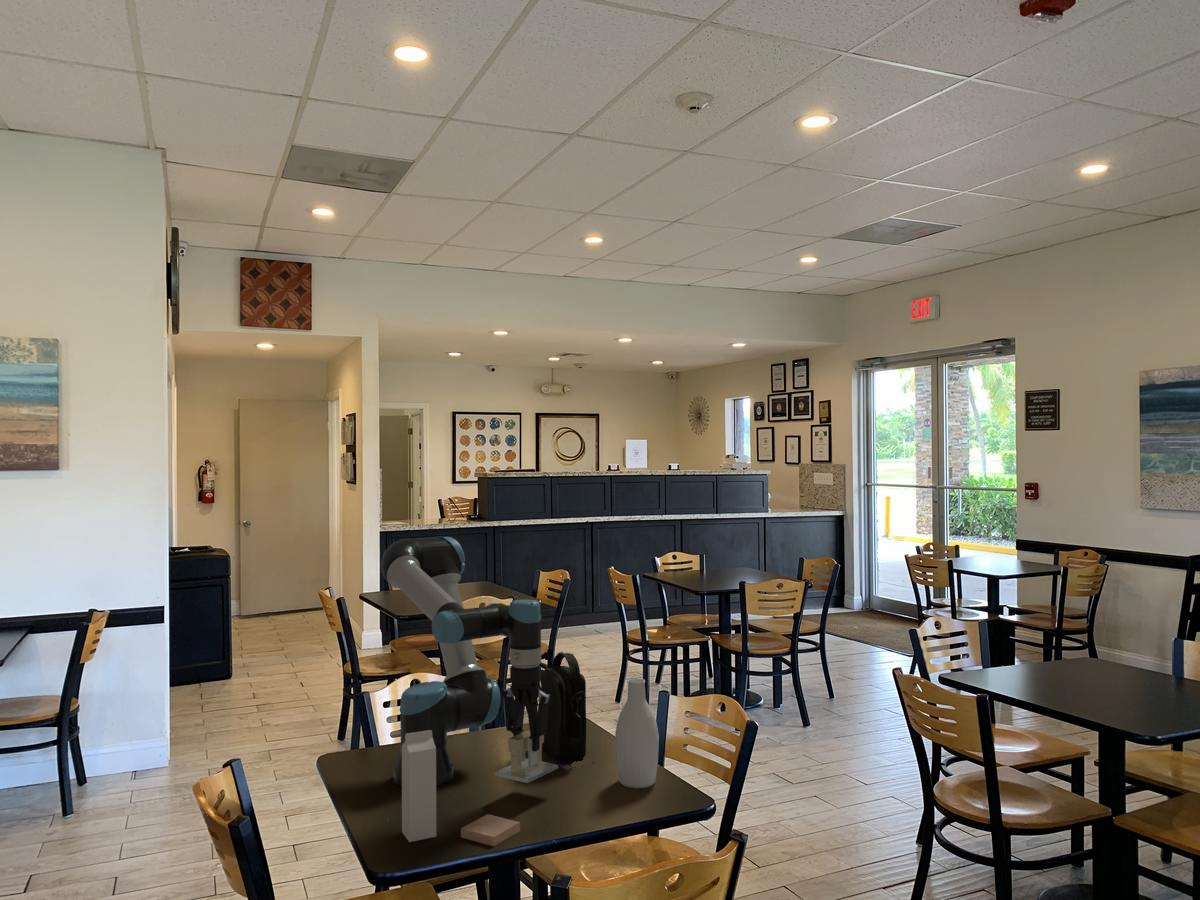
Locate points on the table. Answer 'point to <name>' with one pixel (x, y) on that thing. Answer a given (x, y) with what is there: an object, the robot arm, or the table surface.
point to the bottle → (636, 739)
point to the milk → (419, 786)
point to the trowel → (521, 769)
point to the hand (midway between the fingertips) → (526, 762)
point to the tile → (490, 830)
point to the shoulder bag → (565, 711)
